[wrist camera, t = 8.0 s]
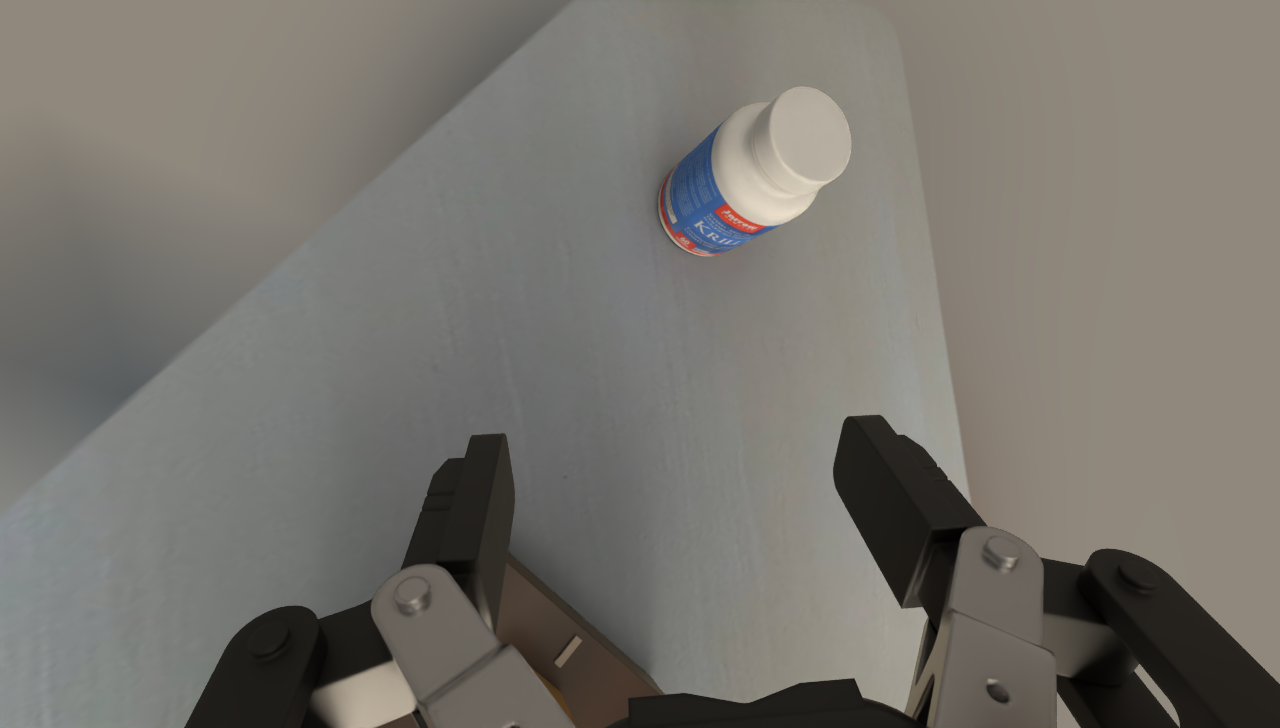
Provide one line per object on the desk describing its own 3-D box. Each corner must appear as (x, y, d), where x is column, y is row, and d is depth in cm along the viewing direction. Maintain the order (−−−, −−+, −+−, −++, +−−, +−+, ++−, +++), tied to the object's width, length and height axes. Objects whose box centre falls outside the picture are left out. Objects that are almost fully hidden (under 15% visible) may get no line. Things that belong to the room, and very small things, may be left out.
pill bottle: (659, 259, 30) (757, 198, 21) (650, 161, 30) (743, 59, 21) (747, 258, 32) (871, 202, 23) (738, 166, 32) (858, 74, 23)
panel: (306, 714, 23) (287, 760, 20) (479, 527, 26) (485, 543, 23) (513, 863, 26) (523, 923, 23) (651, 677, 29) (676, 709, 26)
